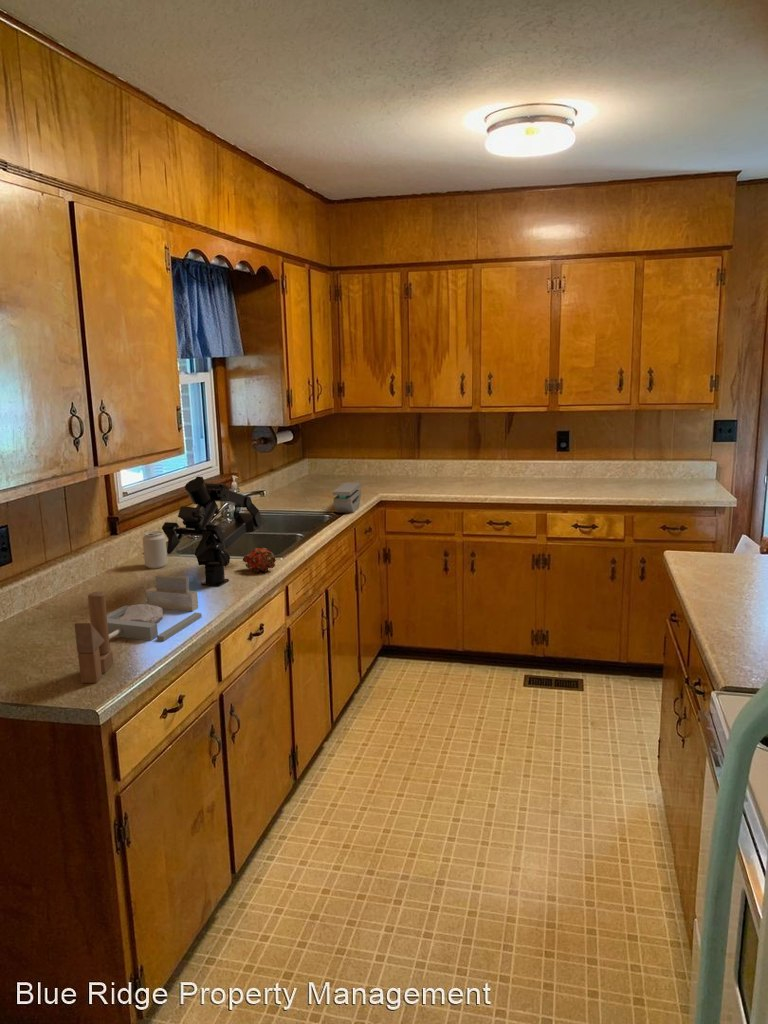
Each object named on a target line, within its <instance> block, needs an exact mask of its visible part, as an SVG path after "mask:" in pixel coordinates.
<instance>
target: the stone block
mask: <svg viewBox="0 0 768 1024" xmlns="http://www.w3.org/2000/svg"><path fill="white" fill-rule="evenodd" d="M128 606H129V607H128V608H127V610H126V611H125V613H124V614H123V616H119V619H120V620H129V621H139V622H148V623H157V624H158V623H160V622H162V620H163V619H164V617H163V613H164V610H163V608H160V607H158V606H154V605H148V604H147V603H146V604H142V603H140V604H139V603H138V604H132V605H128Z"/></svg>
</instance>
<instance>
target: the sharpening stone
mask: <svg viewBox="0 0 768 1024" xmlns="http://www.w3.org/2000/svg"><path fill="white" fill-rule="evenodd" d="M361 487H362V482H356V481H355V482H354V481H353V482H350V481H349V482H347V481H344V482H343V483H342V484H341V485H339V486H338V487H337V488H336V489H334V490H333V491H332V496H335V497H333V505H334V508H335V511H336V513H342V514H343V513H344V514H346V513H347V514H348V513H349V514H354V513H355V512H356V511H357V510H358V509H359V508H360V505H361V497H362V489H359V488H361Z"/></svg>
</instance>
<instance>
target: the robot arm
mask: <svg viewBox="0 0 768 1024" xmlns="http://www.w3.org/2000/svg"><path fill="white" fill-rule="evenodd" d="M184 488H185V492H186V493H187V495H188V496H189V500H190V501H191V502H192V504H194V505H196V507H195V506H194V507H193V506H184V505H182V506H180V507H179V511H178V514H177V518H178V519H179V518H180V519H182V522H181V523H182V524H183V525H184V526H180V525H179V523H178V522H174V521H173V522H172V521H165V522H164V523H163V525H162V526H161V530H162V532H163V534H164V535H165V537H166V538H167V546H166V550H167V555H170V554H171V553H173V551H174V550H175V549H176V548H177V546H178V545H179V544H180V543H181V539H182V538H183V535H184V536H186V535H187V536H192V537H200V538H201V539H200V541H199V544H198V545H197V546H196V548H195V551H194V555H195V557H196V561H197V565H198V566H204V579H205V580H204V581H203V582H201V585H202V586H214V587H220V586H222V585H225V584H226V583H228V582H229V581H230V579H229V578H225V577H226V576H225V567H226V566H229V564H230V560H231V556H230V554H228V552H227V551H226V550H227V549H228V548H230V547H231V546H232V545H234V543H236V542H237V541H238V540H240V539H241V538H242V537H243V536H244V535H245V534H249V533H254V532H257V531H259V529H260V528H261V527H262V523H263V522H262V521H263V520H262V516H261V513H260V510H259V508H257V507H256V505H255V504H254V503H253V500H252V498H251V496H248V495H244V494H241V493H239V492H236V491H232V490H231V489H230V487H229V486H228V485H227V484H225V483H219V482H217V483H214V482H205V479H204V477H203V476H196V477H195V478H194V479H192V480H189V481H188V482H187V483H185V486H184ZM217 502H219V503H220V502H221V503H225V504H228V505H232V506H234V510H233V513H232V516H233V519H234V523H233V524H231V526H229V527H228V528H227V529H225V530H224V531H223V530H222V529H221V526H220V524H212V522H211V520H212V518H213V517H214V514H217V515H219V514H220V510H219V505H218V503H217ZM240 508H246V510H247V511H248V513H247V512H241V511H240Z"/></svg>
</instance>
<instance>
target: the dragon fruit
mask: <svg viewBox="0 0 768 1024" xmlns="http://www.w3.org/2000/svg"><path fill="white" fill-rule="evenodd" d="M242 562H243V563H245V567H246V568H248V569H252V570H254V572H255V573H259V572H260V571H262V572H268V571H269V569H273V568H275V567H276V564H275V563H276V562H277V560H276V557H275V554H274V553H273V552H272V551H270V550H269V549H268V548H265V547H262V548H261V547H260V548H259V547H255V548H254V550H252V552H250V553H248V554H246V555H245V556H243V557H242Z"/></svg>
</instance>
